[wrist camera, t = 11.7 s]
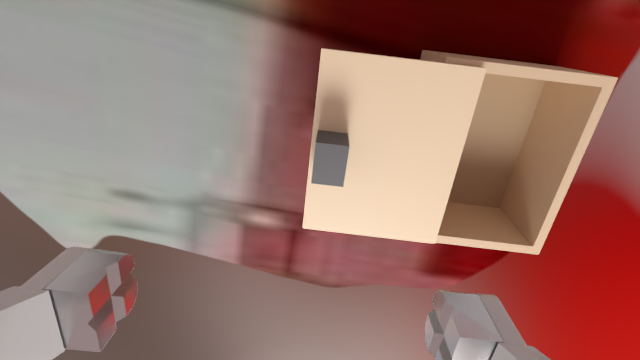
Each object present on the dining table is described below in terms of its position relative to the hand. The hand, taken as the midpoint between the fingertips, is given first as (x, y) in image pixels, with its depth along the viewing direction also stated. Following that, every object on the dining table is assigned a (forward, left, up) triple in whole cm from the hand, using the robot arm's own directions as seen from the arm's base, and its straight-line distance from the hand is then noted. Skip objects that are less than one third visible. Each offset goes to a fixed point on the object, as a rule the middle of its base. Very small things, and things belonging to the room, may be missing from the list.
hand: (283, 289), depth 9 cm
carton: (+5, +19, -37) cm, 42 cm away
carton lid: (+5, +7, -27) cm, 28 cm away
